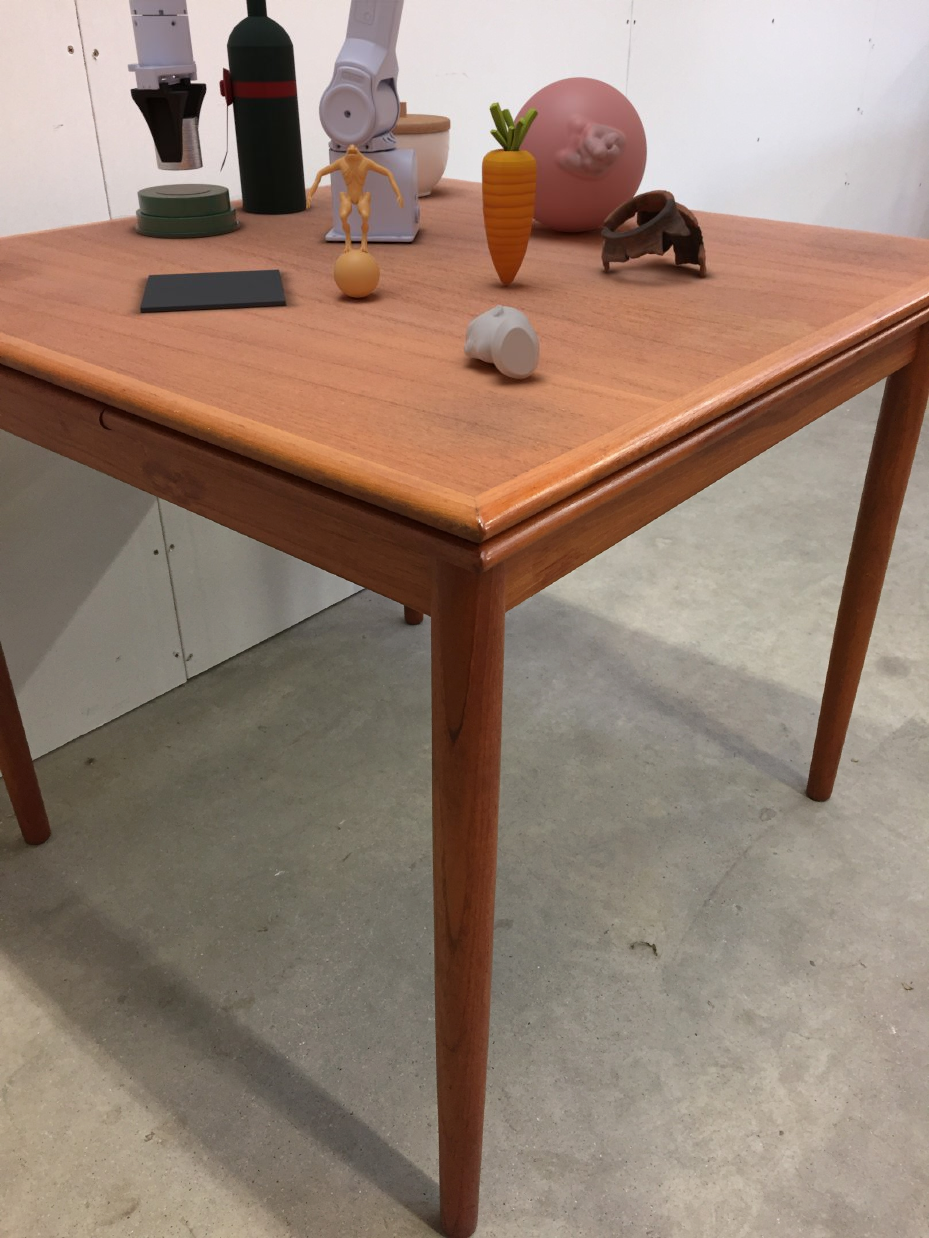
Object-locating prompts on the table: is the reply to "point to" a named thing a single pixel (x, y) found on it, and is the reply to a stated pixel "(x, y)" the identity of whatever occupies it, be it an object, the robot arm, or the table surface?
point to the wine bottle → (265, 113)
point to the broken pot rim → (653, 231)
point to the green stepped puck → (185, 211)
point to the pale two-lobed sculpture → (504, 341)
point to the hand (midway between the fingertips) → (179, 159)
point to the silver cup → (186, 148)
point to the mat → (213, 290)
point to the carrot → (508, 193)
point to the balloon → (583, 152)
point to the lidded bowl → (424, 145)
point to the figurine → (357, 266)
